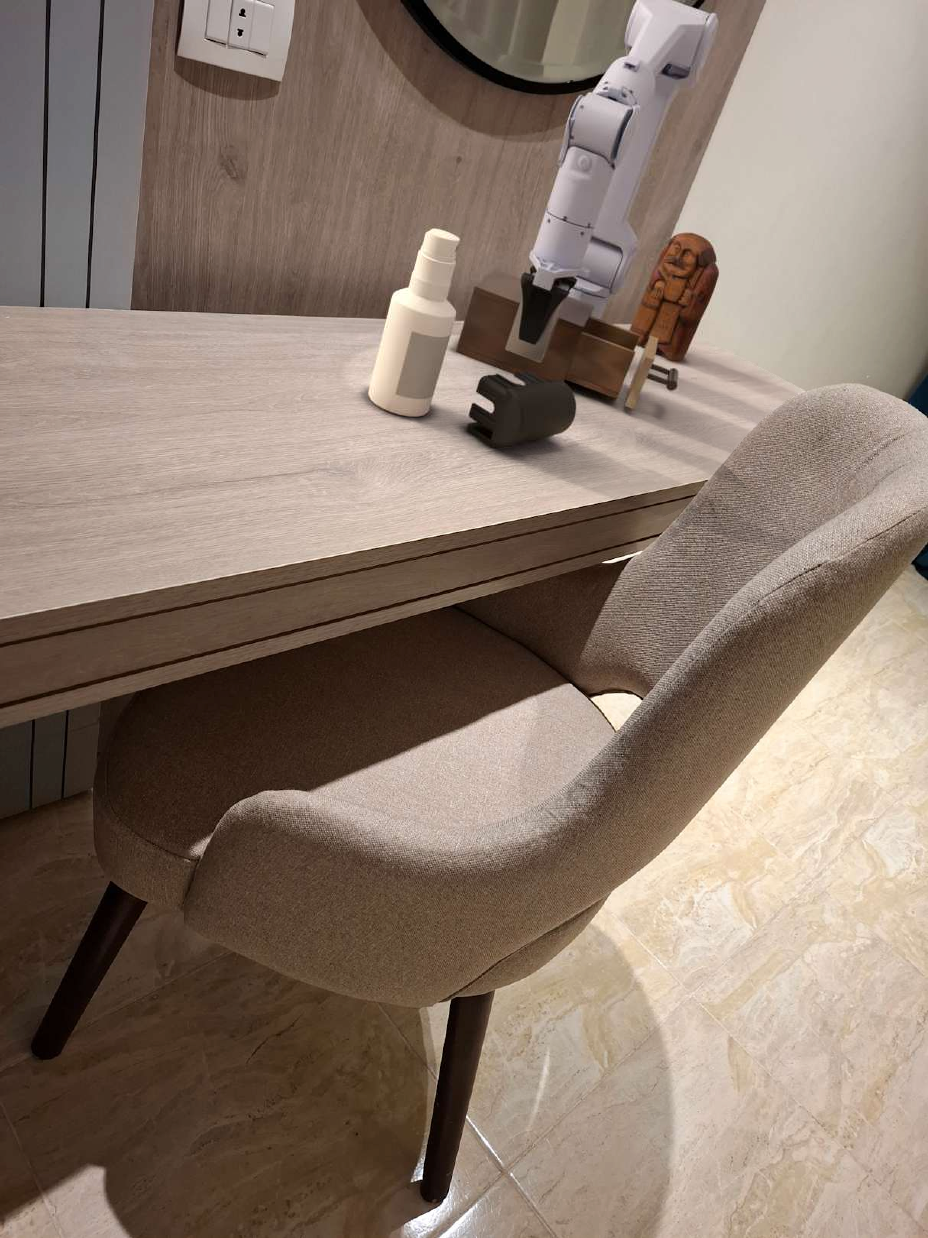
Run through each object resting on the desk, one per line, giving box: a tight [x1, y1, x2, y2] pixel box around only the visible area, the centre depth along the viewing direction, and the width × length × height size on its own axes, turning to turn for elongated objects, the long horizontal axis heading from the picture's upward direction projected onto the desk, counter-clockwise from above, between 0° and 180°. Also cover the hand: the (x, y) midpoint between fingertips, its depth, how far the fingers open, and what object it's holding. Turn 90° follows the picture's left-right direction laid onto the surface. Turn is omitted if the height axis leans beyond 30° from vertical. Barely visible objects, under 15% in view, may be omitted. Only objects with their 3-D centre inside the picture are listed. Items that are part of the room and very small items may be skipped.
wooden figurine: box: [628, 232, 720, 361], centre depth 144 cm, size 12×6×18 cm, turn 49°
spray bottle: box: [368, 228, 461, 417], centre depth 93 cm, size 7×7×18 cm
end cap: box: [466, 370, 577, 449], centre depth 97 cm, size 10×7×7 cm
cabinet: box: [455, 268, 594, 383], centre depth 121 cm, size 15×13×9 cm
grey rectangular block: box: [505, 272, 570, 363], centre depth 106 cm, size 4×4×9 cm
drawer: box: [565, 316, 679, 410], centre depth 120 cm, size 18×11×7 cm, turn 76°
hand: (530, 336), depth 107 cm, fingers closed on grey rectangular block, 4 cm apart
